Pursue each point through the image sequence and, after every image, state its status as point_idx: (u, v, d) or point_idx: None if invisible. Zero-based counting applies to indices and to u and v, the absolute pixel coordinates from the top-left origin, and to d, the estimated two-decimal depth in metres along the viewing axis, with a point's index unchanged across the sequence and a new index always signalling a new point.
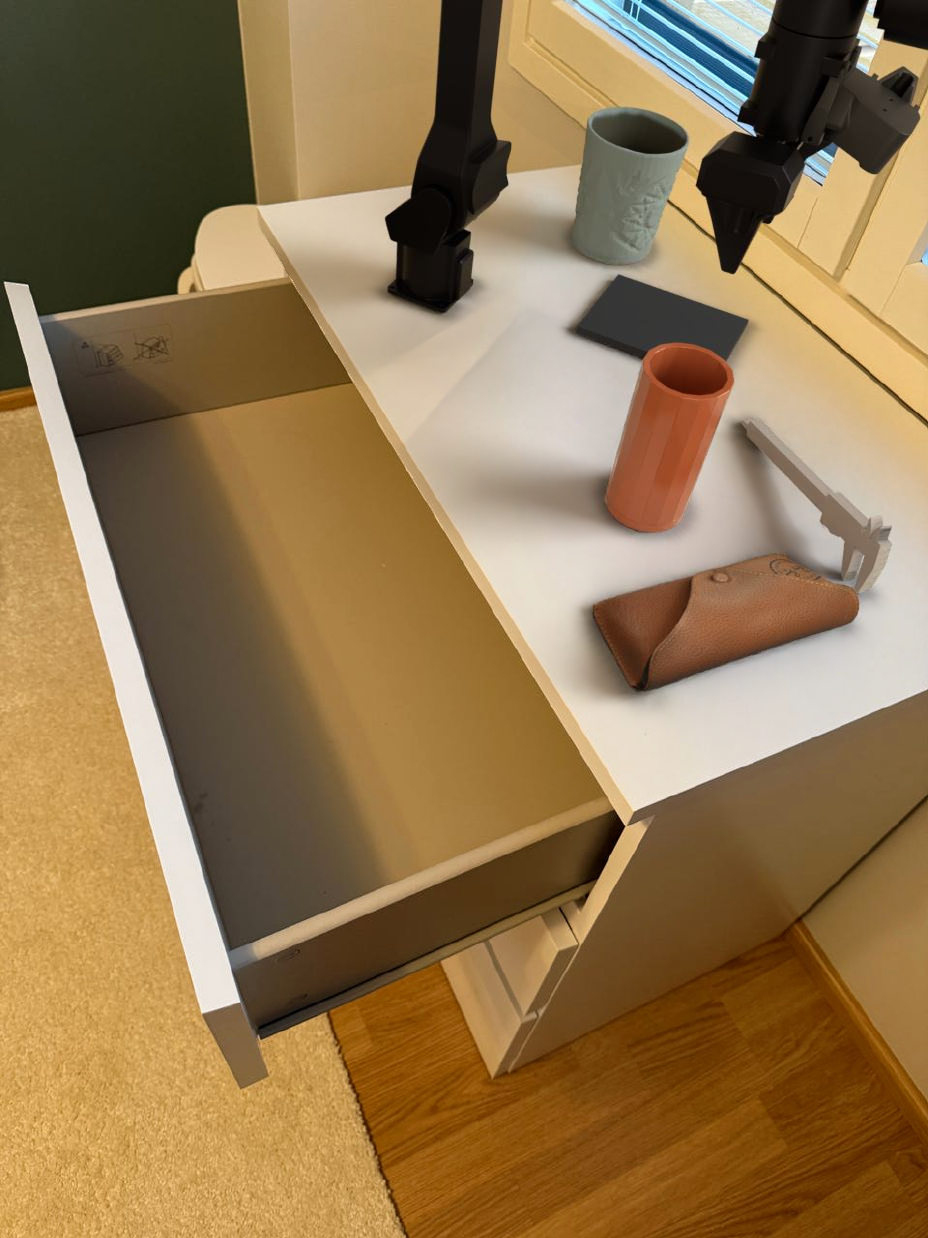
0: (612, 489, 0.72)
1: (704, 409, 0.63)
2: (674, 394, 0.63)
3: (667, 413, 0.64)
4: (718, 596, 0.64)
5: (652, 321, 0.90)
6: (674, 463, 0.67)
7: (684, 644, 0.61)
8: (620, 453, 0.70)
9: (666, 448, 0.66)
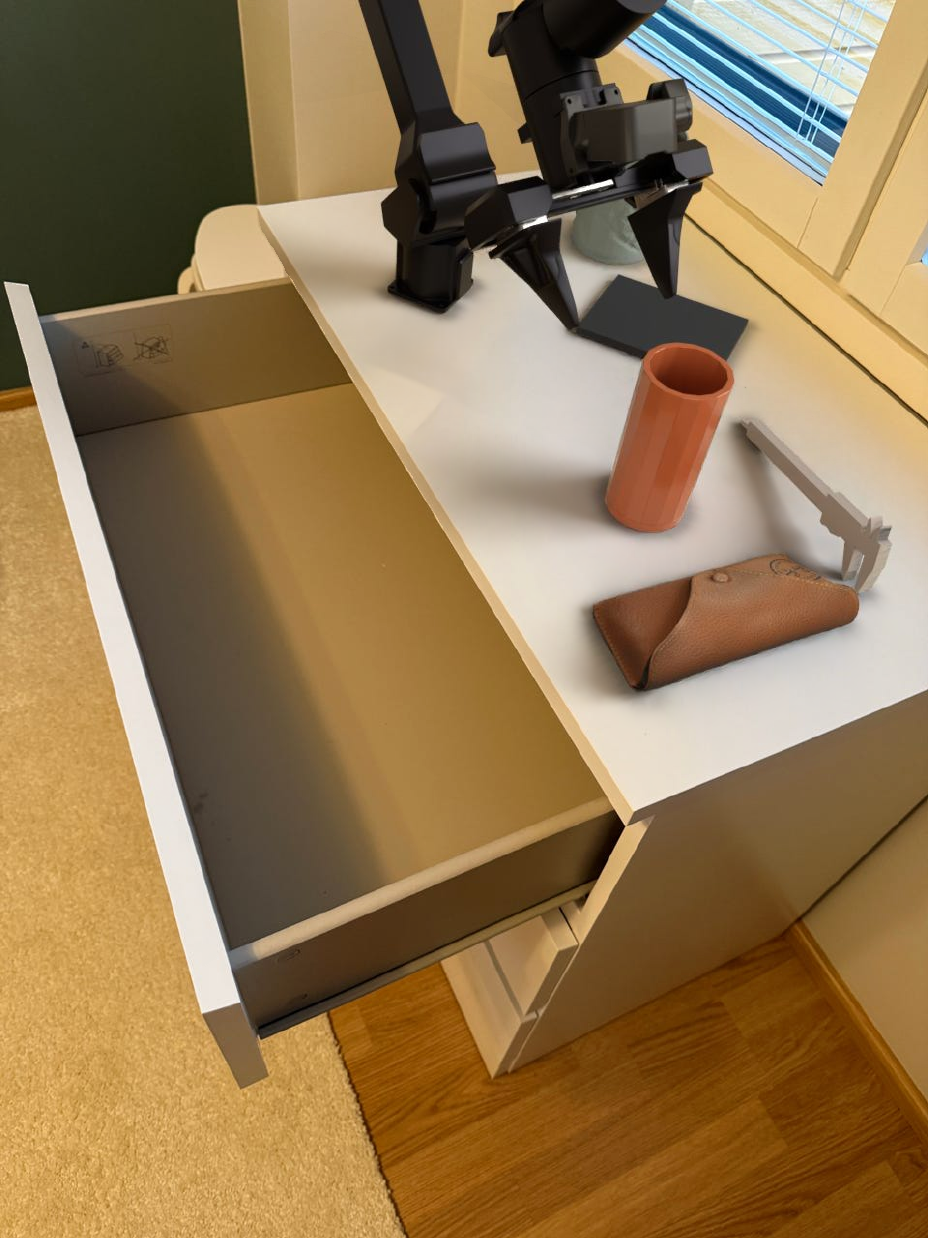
0: (612, 489, 0.72)
1: (704, 409, 0.63)
2: (674, 394, 0.63)
3: (667, 413, 0.64)
4: (718, 596, 0.64)
5: (652, 321, 0.90)
6: (674, 463, 0.67)
7: (684, 644, 0.61)
8: (620, 453, 0.70)
9: (666, 448, 0.66)
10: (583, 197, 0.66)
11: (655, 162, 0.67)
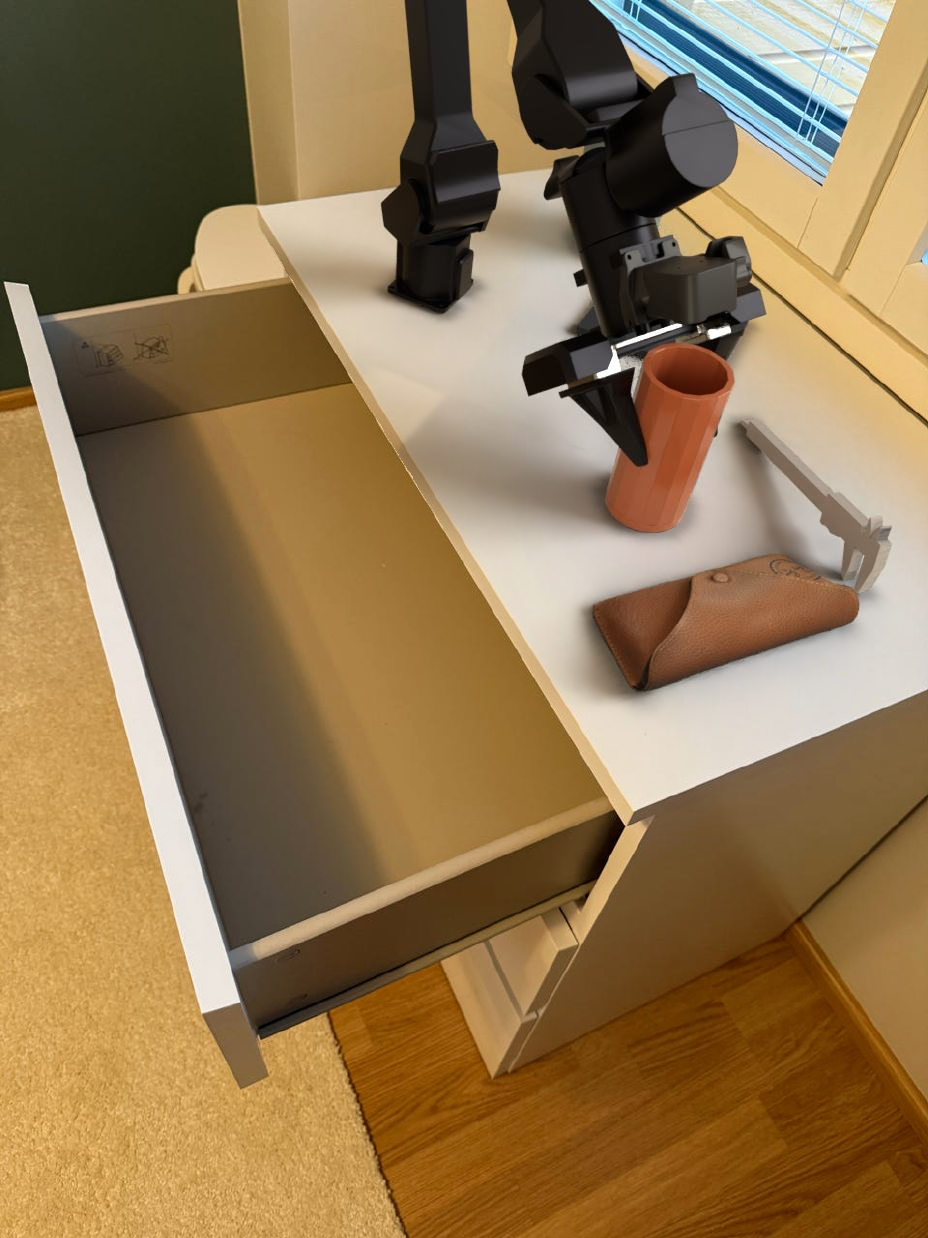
0: (612, 489, 0.72)
1: (704, 409, 0.63)
2: (675, 394, 0.63)
3: (667, 413, 0.64)
4: (718, 596, 0.64)
5: None
6: (674, 463, 0.67)
7: (684, 644, 0.61)
8: (620, 454, 0.70)
9: (666, 448, 0.66)
10: (627, 347, 0.66)
11: None
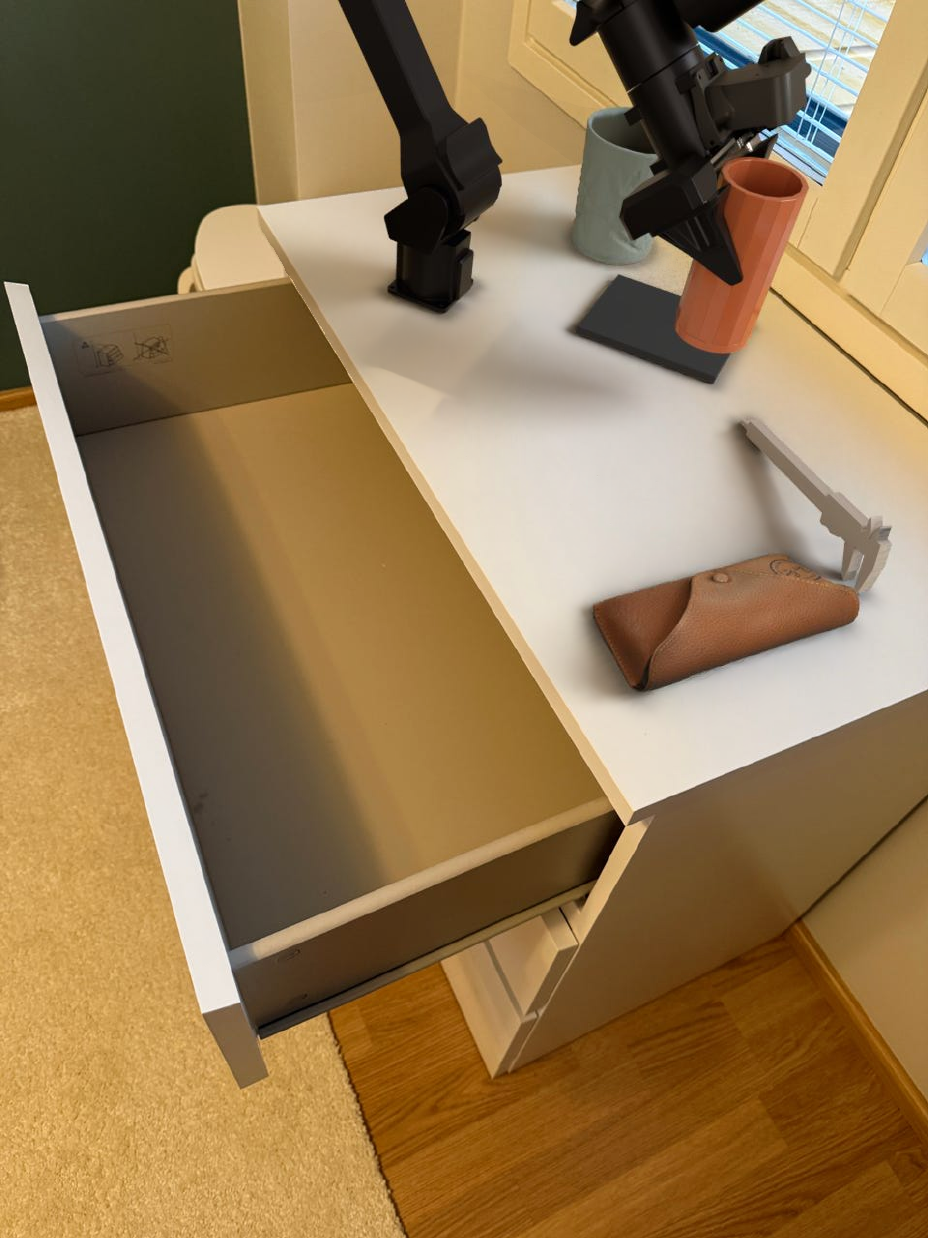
0: (693, 321, 0.75)
1: (796, 209, 0.67)
2: (773, 199, 0.66)
3: (764, 221, 0.67)
4: (718, 596, 0.64)
5: (652, 321, 0.90)
6: (764, 272, 0.71)
7: (684, 645, 0.61)
8: (701, 281, 0.73)
9: (760, 258, 0.69)
10: None
11: None
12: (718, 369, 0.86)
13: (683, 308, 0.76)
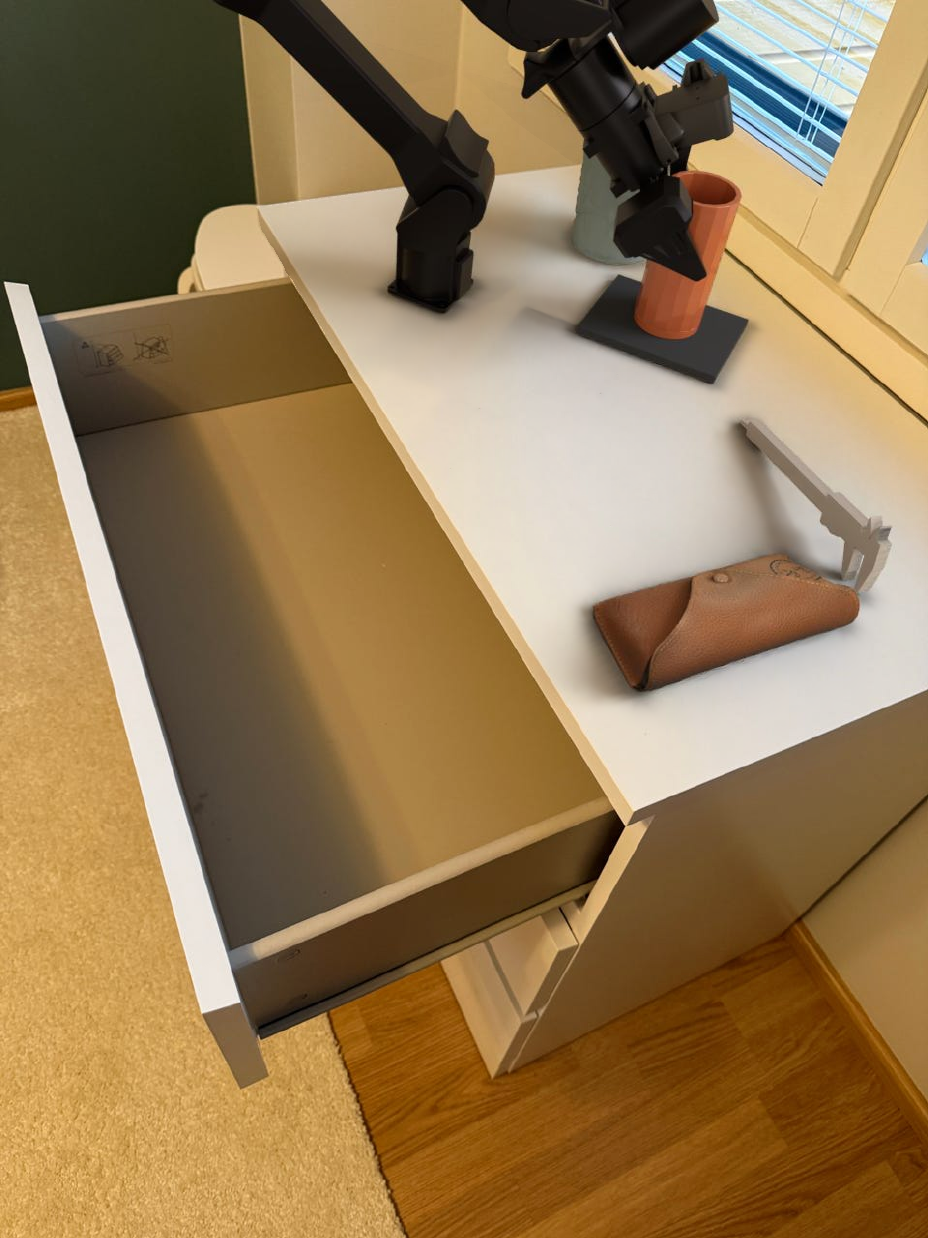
0: (660, 317, 0.87)
1: (737, 209, 0.80)
2: (724, 206, 0.78)
3: (717, 225, 0.79)
4: (718, 596, 0.64)
5: None
6: (716, 265, 0.83)
7: (684, 645, 0.61)
8: (665, 283, 0.84)
9: (714, 255, 0.82)
10: (657, 178, 0.79)
11: None
12: (718, 369, 0.86)
13: (647, 308, 0.87)
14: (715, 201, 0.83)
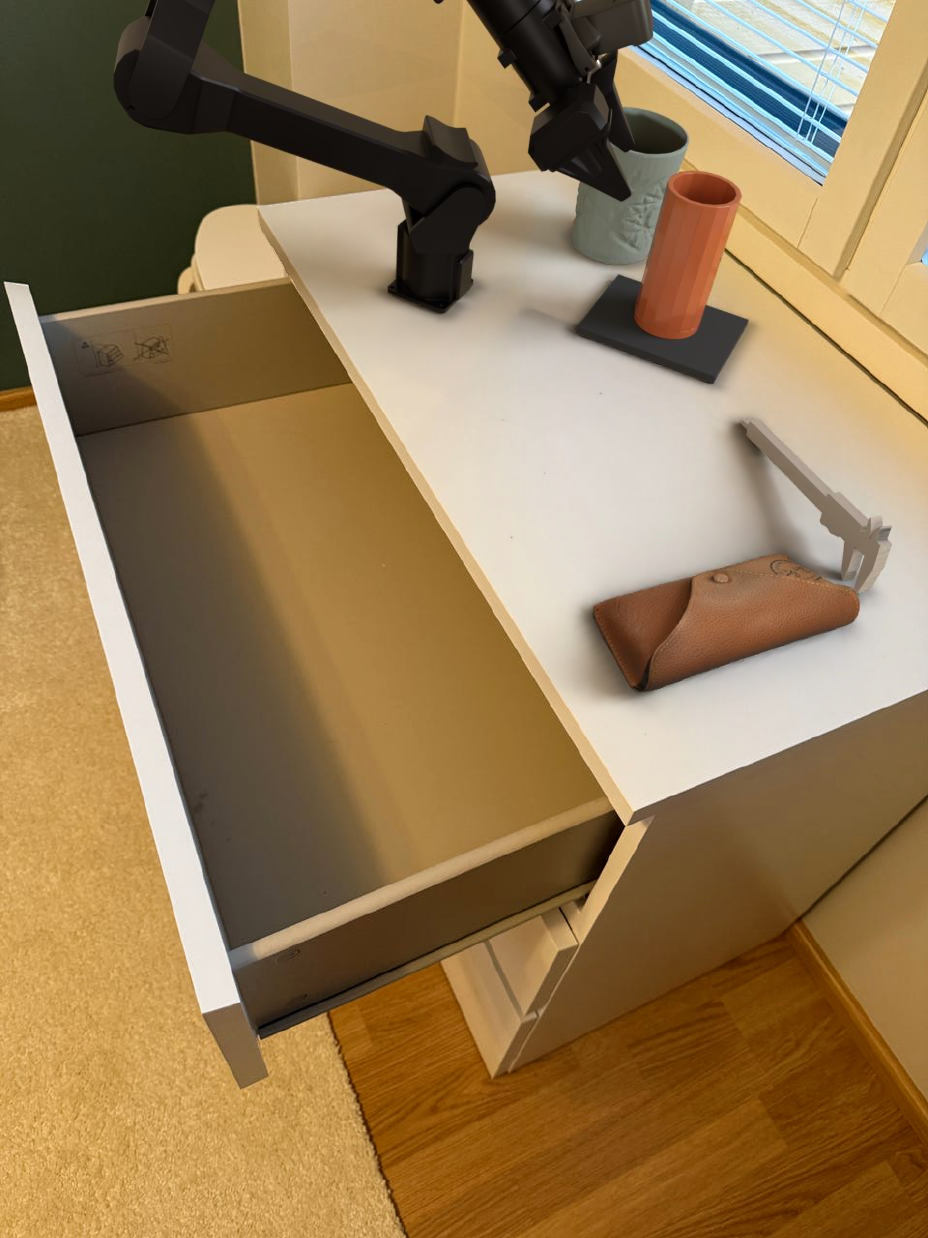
0: (660, 317, 0.87)
1: (737, 209, 0.80)
2: (724, 206, 0.78)
3: (717, 225, 0.79)
4: (718, 596, 0.64)
5: None
6: (716, 265, 0.83)
7: (684, 645, 0.61)
8: (665, 283, 0.84)
9: (714, 255, 0.82)
10: None
11: None
12: (718, 369, 0.86)
13: (647, 308, 0.87)
14: (715, 201, 0.83)
